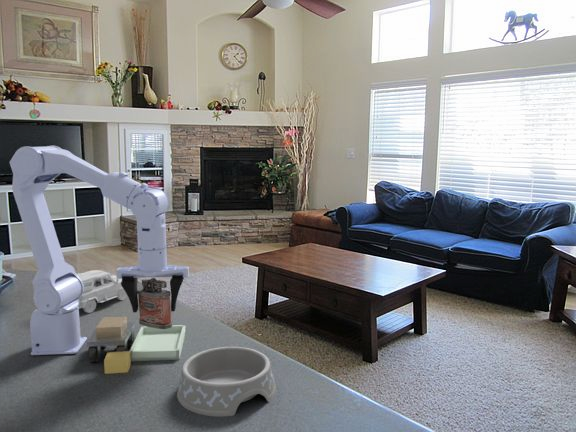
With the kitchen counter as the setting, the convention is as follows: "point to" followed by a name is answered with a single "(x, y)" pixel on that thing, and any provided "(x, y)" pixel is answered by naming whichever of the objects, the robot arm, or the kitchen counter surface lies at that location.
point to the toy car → (99, 289)
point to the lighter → (154, 304)
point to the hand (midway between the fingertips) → (154, 310)
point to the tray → (158, 343)
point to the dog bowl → (224, 380)
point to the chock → (117, 362)
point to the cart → (110, 336)
